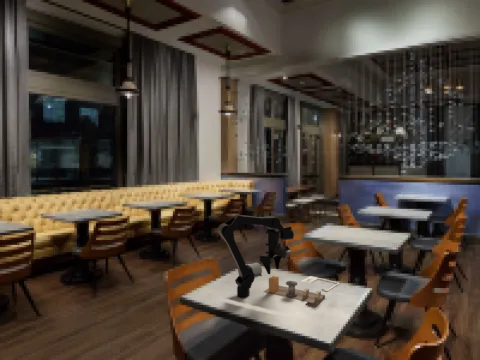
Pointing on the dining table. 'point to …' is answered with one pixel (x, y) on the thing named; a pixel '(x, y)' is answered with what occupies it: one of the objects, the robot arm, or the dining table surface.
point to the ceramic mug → (256, 269)
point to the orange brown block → (273, 284)
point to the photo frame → (312, 279)
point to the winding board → (299, 294)
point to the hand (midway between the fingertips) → (273, 271)
